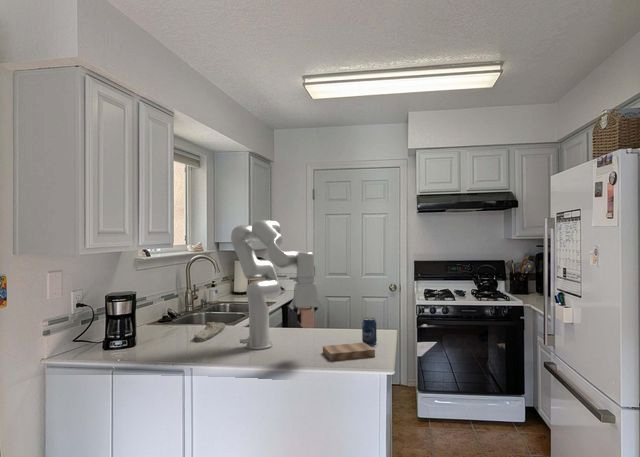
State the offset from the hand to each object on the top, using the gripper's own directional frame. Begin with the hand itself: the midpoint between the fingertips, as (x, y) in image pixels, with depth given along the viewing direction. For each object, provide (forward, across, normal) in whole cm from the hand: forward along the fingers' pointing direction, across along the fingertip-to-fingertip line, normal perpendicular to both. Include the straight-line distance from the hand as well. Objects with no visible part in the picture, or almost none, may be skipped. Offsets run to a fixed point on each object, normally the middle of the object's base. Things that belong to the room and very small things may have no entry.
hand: (305, 322), depth 188 cm
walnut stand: (+15, +20, -1) cm, 25 cm away
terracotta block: (+1, 0, 0) cm, 1 cm away
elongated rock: (+18, -39, +61) cm, 75 cm away
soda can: (+16, +36, +14) cm, 41 cm away
